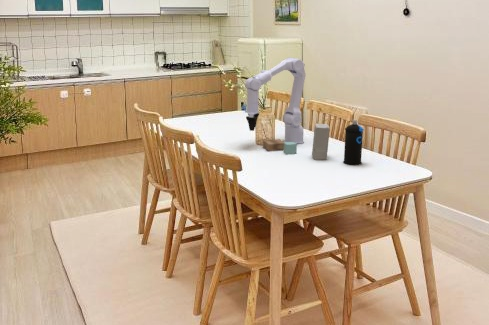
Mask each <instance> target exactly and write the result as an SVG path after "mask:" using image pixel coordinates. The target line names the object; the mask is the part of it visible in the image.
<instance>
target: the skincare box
mask: <svg viewBox="0 0 489 325" xmlns="http://www.w3.org/2000/svg"><path fill="white" fill-rule="evenodd" d="M330 131H331V128H330V125H329V124H328V123H314V129H313V139H312V151H311V156H312V159H313V160H322V161H323V160H325V161H327V160H328V151H329V139H330Z"/></svg>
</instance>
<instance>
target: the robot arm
mask: <svg viewBox="0 0 489 325" xmlns="http://www.w3.org/2000/svg"><path fill="white" fill-rule="evenodd" d="M305 65H306V64H305V63H304V61H303V60H302V59H301V58H295V57H294V58H293V57H287V58H286V59H282V61H281V62H279V63H278V64H276V65H275V66H274V67H272V68H270V69H269V70H267V69H265V70H262V69H261V71H260V73H258V74H256V75H253V77H249V78H247V79H246V81H245V83H244V87H245V89H246V110H244V113H245V114H246V113H247V115H246V117H245V118H246V121H247V123H248V129H249V131H250V132H251V131H252V132H253V131H255V128H256V126H257V121H258V118H259V115H260V110H259V90H260V89H261V86H264V85H265V84H266V83H268V82H270V81H272V77H273V76H276V75H278V74H280V73H281V72H283V71H289V72H290V73H291V75H292V76H293V83H292V89H291V92H290V93H291V94H290V98H289V105H288V107H287V108H286V109H285V111H284V114H283V116H282V121H283V123H284V139H281V140H282V141H283V142H294V143H296V144H304V128H303V126H302V125H301V124H302V111H301V110H300V107H301V106H300V105H301V100H302V96H303V90H304V84H305V79H306V72H305V71H306V70H305V67H306V66H305Z"/></svg>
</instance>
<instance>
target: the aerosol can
mask: <svg viewBox="0 0 489 325" xmlns="http://www.w3.org/2000/svg"><path fill="white" fill-rule="evenodd" d="M344 130H345V133H344V134H345V135H344V136H345V137H344V150H343V151H344V154H343V161H342V163H343V164H345V165H347V166H359V164H360V165H361V164H362V155H363V154H362V152H363V136H364V130H365V129H364V128H363V127H362V126H361V125H359V124H358V119H352V123H351V124H349V125H348V126H346V127H345V129H344Z"/></svg>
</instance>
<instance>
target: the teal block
mask: <svg viewBox="0 0 489 325" xmlns="http://www.w3.org/2000/svg"><path fill="white" fill-rule="evenodd" d="M297 147H298V145H297V144H296V143H294V142H284V150H283V153H284V154H285V155H287V156H288V155H297V149H298V148H297Z"/></svg>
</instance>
